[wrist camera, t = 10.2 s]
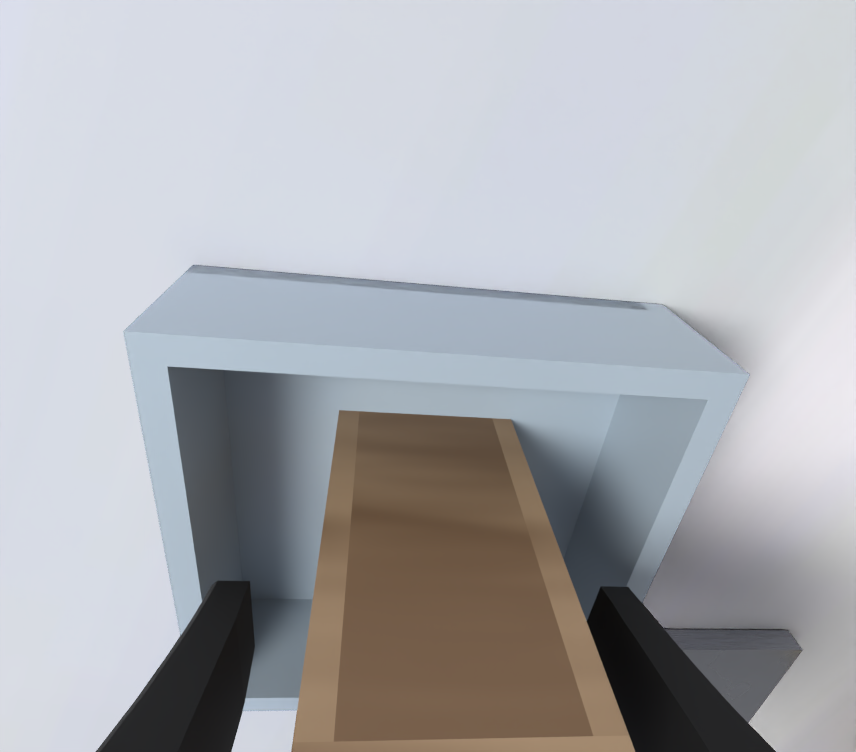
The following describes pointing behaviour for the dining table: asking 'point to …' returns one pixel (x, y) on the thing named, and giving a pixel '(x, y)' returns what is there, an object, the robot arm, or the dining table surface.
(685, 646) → the base
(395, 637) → the brown block
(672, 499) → the bin
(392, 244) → the dining table surface
